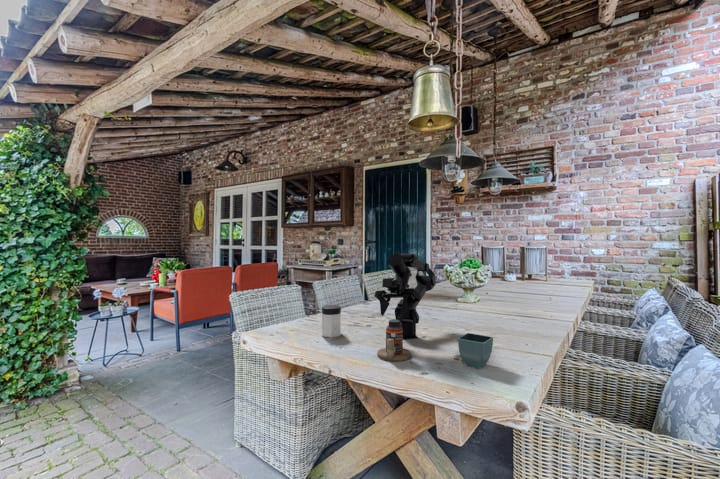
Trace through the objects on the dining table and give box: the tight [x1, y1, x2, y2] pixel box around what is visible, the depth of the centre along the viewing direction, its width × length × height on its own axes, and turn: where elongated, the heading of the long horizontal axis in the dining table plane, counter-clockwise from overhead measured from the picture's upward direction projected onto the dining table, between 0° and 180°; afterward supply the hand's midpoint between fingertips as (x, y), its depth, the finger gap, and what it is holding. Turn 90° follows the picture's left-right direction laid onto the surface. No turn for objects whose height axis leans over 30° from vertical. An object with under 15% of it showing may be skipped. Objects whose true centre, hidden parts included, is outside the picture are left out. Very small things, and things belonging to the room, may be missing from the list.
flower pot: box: [457, 332, 494, 369], centre depth 112 cm, size 9×9×9 cm
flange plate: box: [376, 339, 412, 363], centre depth 121 cm, size 12×12×7 cm
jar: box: [321, 304, 342, 339], centre depth 148 cm, size 9×8×12 cm
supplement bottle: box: [385, 318, 404, 355], centre depth 122 cm, size 6×6×11 cm
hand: (391, 315), depth 131 cm, fingers open, 9 cm apart
